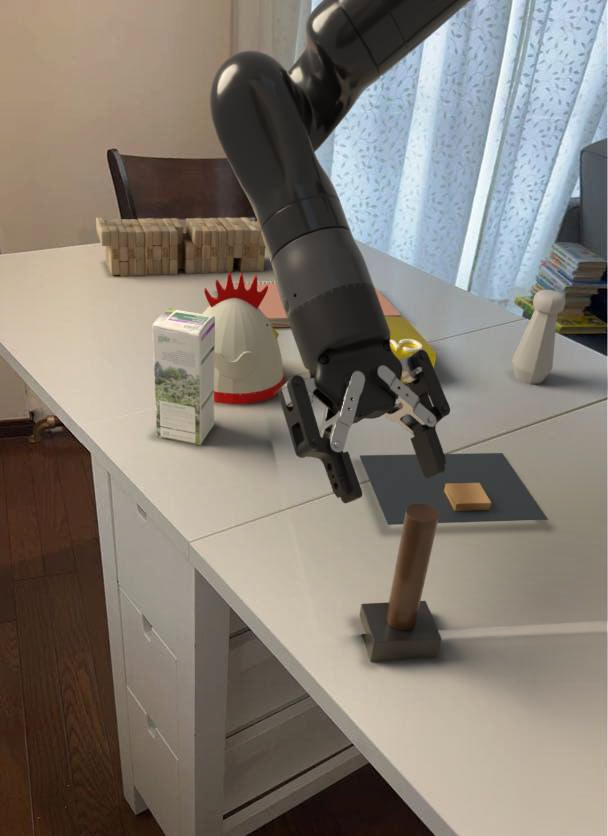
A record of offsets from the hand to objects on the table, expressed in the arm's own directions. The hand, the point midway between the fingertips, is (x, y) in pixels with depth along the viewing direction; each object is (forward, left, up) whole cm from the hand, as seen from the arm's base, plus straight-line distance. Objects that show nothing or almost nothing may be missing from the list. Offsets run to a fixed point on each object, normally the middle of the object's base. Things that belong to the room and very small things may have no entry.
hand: (395, 487), depth 65 cm
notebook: (-6, -77, -14) cm, 78 cm away
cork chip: (-14, -17, -13) cm, 26 cm away
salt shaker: (-35, -50, -14) cm, 63 cm away
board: (-13, -20, -14) cm, 28 cm away
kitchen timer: (+9, -49, -14) cm, 52 cm away
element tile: (-12, -55, -14) cm, 58 cm away
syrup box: (+16, -35, -14) cm, 41 cm away
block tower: (+14, -96, -14) cm, 98 cm away
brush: (-1, +3, -14) cm, 15 cm away
